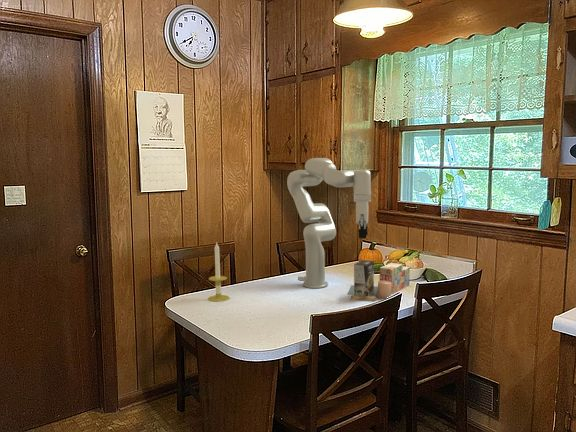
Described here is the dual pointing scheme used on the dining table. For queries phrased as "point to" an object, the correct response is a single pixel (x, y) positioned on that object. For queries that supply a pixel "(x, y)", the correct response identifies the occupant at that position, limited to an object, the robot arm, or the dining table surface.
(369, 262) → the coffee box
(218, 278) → the candle
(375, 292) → the mat
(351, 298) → the stop strip
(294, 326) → the dining table surface
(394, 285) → the stack of blocks
